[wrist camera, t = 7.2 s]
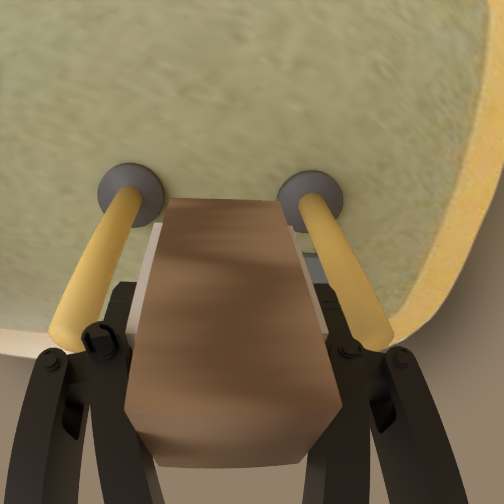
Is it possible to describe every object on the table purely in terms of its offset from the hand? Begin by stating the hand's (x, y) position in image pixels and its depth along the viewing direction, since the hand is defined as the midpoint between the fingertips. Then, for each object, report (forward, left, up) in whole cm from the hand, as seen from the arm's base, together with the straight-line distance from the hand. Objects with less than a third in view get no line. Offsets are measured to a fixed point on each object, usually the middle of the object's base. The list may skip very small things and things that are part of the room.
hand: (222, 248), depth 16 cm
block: (0, 0, 0) cm, 0 cm away
